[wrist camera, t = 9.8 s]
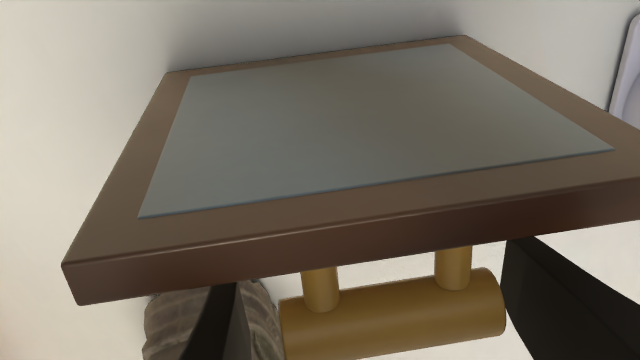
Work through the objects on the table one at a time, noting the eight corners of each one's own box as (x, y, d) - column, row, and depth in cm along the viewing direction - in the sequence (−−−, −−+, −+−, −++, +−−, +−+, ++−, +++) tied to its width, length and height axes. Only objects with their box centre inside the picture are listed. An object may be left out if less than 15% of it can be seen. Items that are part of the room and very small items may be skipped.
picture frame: (713, 164, 9) (660, 338, 11) (466, 33, 20) (462, 135, 22) (56, 263, 9) (128, 429, 11) (164, 71, 19) (189, 173, 21)
